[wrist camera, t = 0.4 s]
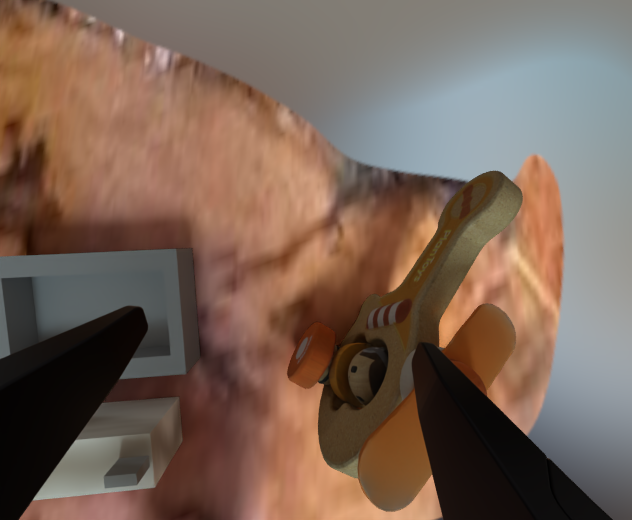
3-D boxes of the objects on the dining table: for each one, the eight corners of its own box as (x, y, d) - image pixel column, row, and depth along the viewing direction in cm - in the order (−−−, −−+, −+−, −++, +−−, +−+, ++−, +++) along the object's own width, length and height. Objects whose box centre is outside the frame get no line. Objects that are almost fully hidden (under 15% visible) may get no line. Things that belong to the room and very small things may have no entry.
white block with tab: (183, 439, 22) (142, 508, 17) (75, 449, 22) (-7, 524, 16) (179, 395, 22) (137, 449, 16) (70, 404, 22) (-15, 463, 16)
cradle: (200, 357, 22) (186, 374, 19) (38, 369, 21) (-1, 388, 18) (192, 248, 21) (176, 248, 19) (25, 255, 20) (-18, 257, 18)
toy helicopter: (280, 369, 22) (251, 562, 9) (406, 169, 22) (578, 46, 9) (357, 413, 23) (441, 655, 10) (480, 219, 23) (748, 182, 9)
